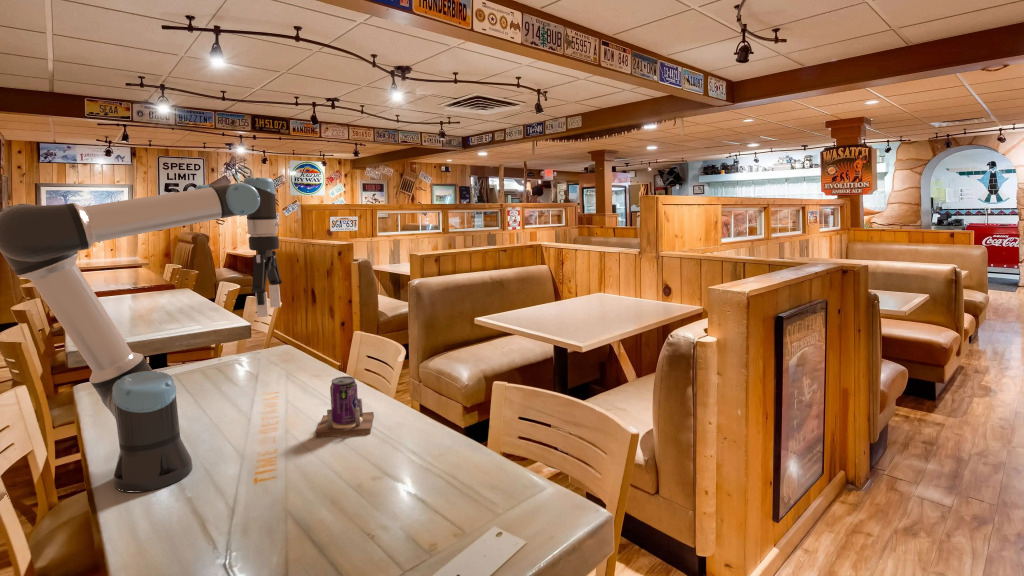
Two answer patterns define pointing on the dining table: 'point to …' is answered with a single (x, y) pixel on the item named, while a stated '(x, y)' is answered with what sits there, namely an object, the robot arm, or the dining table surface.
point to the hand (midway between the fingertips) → (269, 311)
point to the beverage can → (343, 400)
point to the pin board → (357, 427)
